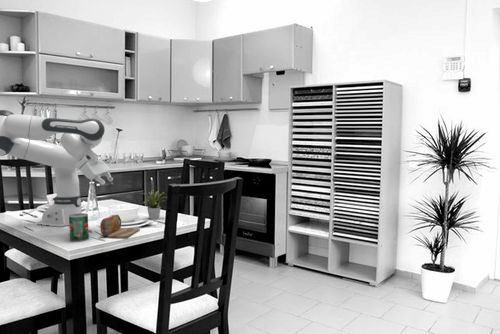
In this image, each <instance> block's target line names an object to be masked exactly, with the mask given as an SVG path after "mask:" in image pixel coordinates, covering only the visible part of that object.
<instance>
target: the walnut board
mask: <svg viewBox="0 0 500 334" xmlns="http://www.w3.org/2000/svg"><path fill="white" fill-rule="evenodd" d="M140 229H141V228H135V227H134V228H130V227H122V228H120V229H119V230H118V231H116V232H114V233H112V234H110V235H109V236H107V239H123V240H124V239H125V240H126V239H129V238H131V236H133V235H136V234H137V233H138V232H140Z"/></svg>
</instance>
